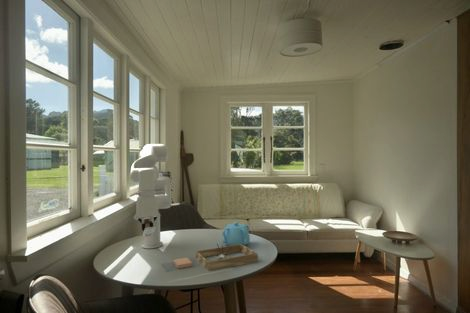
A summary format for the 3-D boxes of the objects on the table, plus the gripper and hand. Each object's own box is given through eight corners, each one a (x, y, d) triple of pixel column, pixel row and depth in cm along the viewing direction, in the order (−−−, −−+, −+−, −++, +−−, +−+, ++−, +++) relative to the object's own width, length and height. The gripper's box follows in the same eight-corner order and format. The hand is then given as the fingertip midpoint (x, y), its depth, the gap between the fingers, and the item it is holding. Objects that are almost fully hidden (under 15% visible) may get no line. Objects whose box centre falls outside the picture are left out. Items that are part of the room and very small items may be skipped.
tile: (173, 259, 144) (177, 265, 137) (186, 257, 147) (191, 262, 140) (173, 263, 144) (177, 268, 137) (187, 261, 147) (191, 266, 140)
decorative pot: (252, 242, 180) (252, 220, 180) (246, 250, 165) (245, 225, 165) (227, 240, 185) (227, 219, 185) (219, 248, 169) (218, 224, 170)
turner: (142, 237, 143) (140, 221, 147) (152, 235, 145) (150, 220, 149) (145, 229, 134) (143, 212, 138) (156, 227, 137) (154, 211, 140)
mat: (160, 264, 144) (160, 263, 144) (191, 259, 151) (191, 258, 151) (166, 273, 134) (166, 271, 134) (199, 266, 141) (199, 265, 141)
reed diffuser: (213, 255, 140) (218, 238, 160) (209, 268, 141) (215, 250, 161) (233, 261, 140) (236, 243, 160) (230, 274, 141) (233, 255, 160)
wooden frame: (195, 259, 151) (195, 251, 151) (241, 251, 163) (241, 243, 163) (208, 271, 135) (207, 262, 135) (257, 261, 146) (257, 253, 146)
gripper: (130, 195, 137) (131, 234, 137) (164, 193, 144) (165, 230, 144) (128, 194, 144) (129, 231, 144) (161, 191, 151) (162, 227, 151)
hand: (147, 230), depth 144 cm, fingers closed on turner, 2 cm apart
